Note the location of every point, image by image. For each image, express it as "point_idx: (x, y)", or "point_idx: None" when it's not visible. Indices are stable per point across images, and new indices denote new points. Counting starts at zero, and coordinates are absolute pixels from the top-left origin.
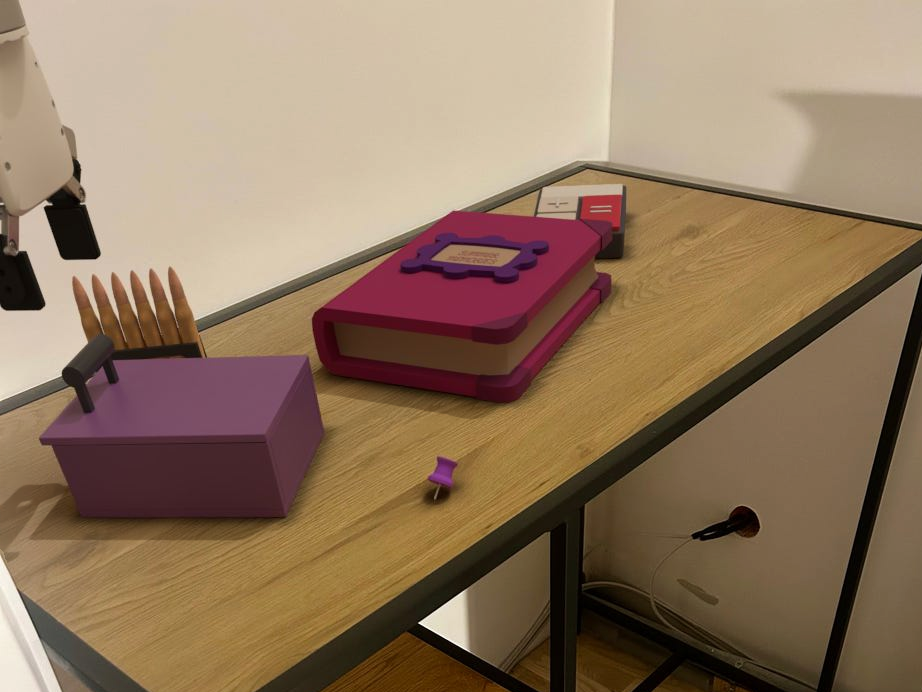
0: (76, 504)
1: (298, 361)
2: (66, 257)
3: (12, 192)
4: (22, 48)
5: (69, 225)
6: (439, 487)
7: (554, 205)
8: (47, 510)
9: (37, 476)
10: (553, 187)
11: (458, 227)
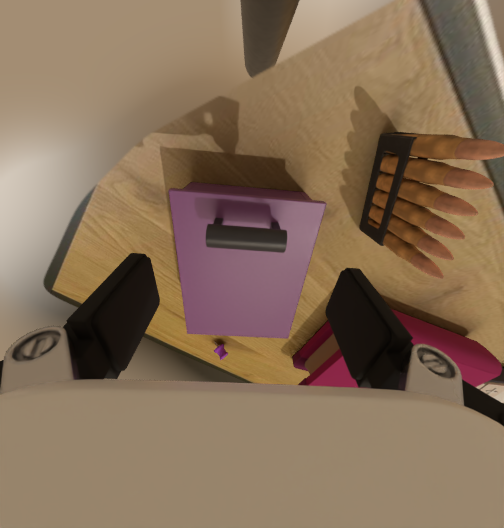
0: (188, 184)
1: (279, 335)
2: (340, 277)
3: None
4: None
5: (354, 335)
6: (217, 346)
7: (490, 389)
8: (199, 147)
9: (252, 111)
10: None
11: (462, 378)
